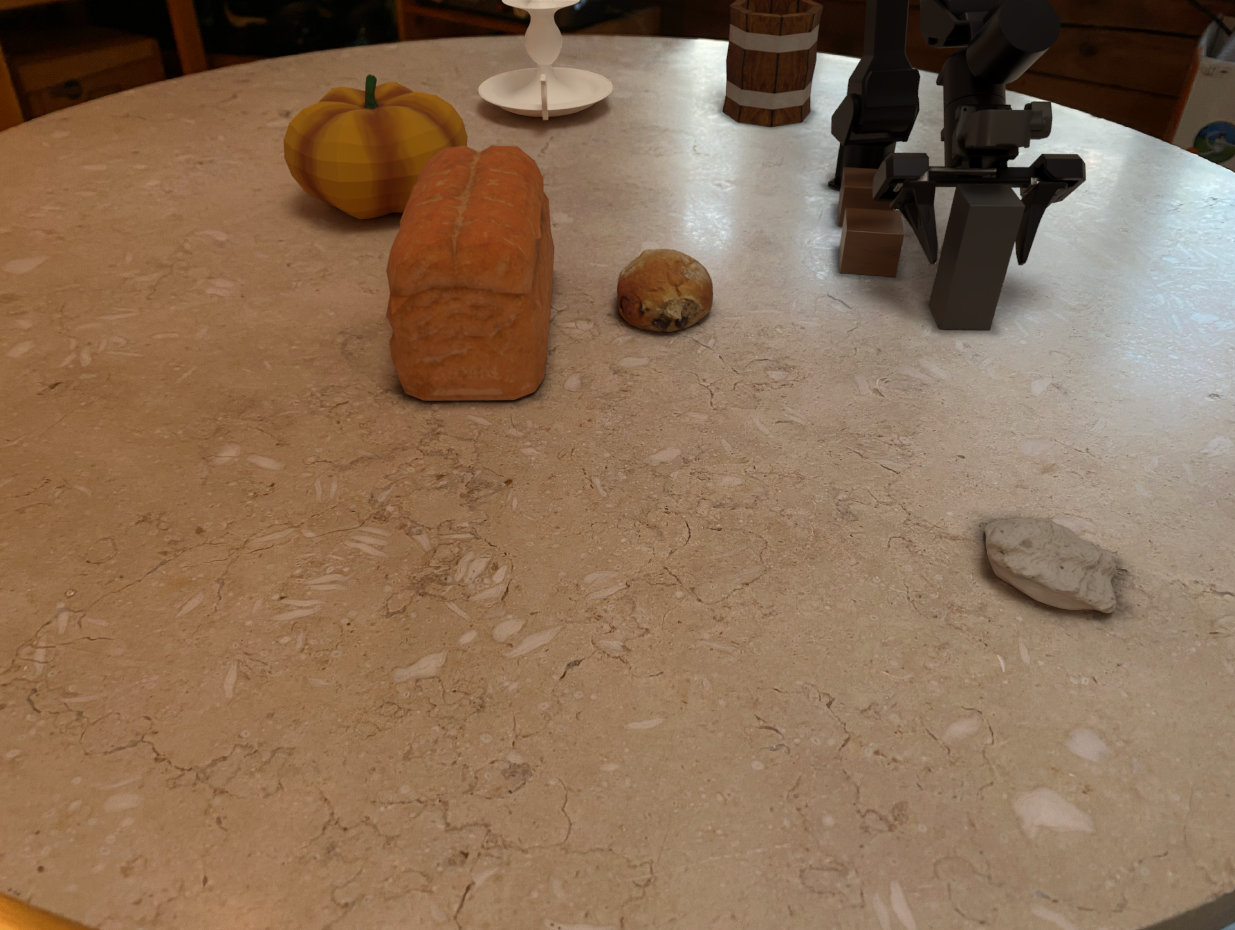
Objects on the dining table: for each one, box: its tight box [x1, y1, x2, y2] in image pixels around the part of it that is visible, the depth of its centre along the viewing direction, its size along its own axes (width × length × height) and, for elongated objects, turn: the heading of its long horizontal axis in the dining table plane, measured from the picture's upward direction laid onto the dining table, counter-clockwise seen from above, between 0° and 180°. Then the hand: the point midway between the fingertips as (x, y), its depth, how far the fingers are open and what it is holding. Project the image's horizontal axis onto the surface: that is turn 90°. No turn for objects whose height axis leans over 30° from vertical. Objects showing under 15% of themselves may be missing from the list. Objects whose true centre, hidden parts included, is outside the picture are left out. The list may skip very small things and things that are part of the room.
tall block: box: [928, 184, 1025, 331], centre depth 91 cm, size 5×5×13 cm
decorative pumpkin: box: [282, 74, 468, 220], centre depth 114 cm, size 20×22×15 cm
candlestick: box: [477, 0, 614, 121], centre depth 135 cm, size 21×25×28 cm
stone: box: [983, 517, 1118, 614], centre depth 66 cm, size 10×5×10 cm
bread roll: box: [616, 248, 714, 333], centre depth 95 cm, size 10×10×8 cm
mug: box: [722, 0, 824, 128], centre depth 142 cm, size 20×14×15 cm
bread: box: [385, 145, 555, 401], centre depth 89 cm, size 14×27×15 cm, turn 1°
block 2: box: [838, 208, 905, 278], centre depth 103 cm, size 6×6×5 cm
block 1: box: [837, 167, 895, 228], centre depth 112 cm, size 6×6×5 cm
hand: (977, 263), depth 90 cm, fingers open, 8 cm apart
